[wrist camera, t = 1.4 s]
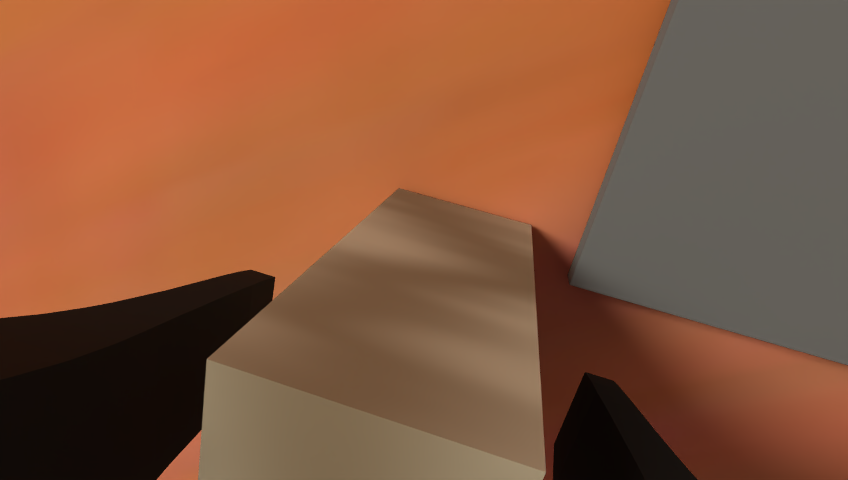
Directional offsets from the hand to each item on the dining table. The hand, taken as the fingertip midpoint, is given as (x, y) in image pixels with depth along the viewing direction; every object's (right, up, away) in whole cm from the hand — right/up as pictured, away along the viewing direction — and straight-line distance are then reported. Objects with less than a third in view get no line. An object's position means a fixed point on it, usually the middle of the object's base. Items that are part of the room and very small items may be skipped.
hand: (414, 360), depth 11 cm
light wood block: (+1, +1, +3) cm, 3 cm away
